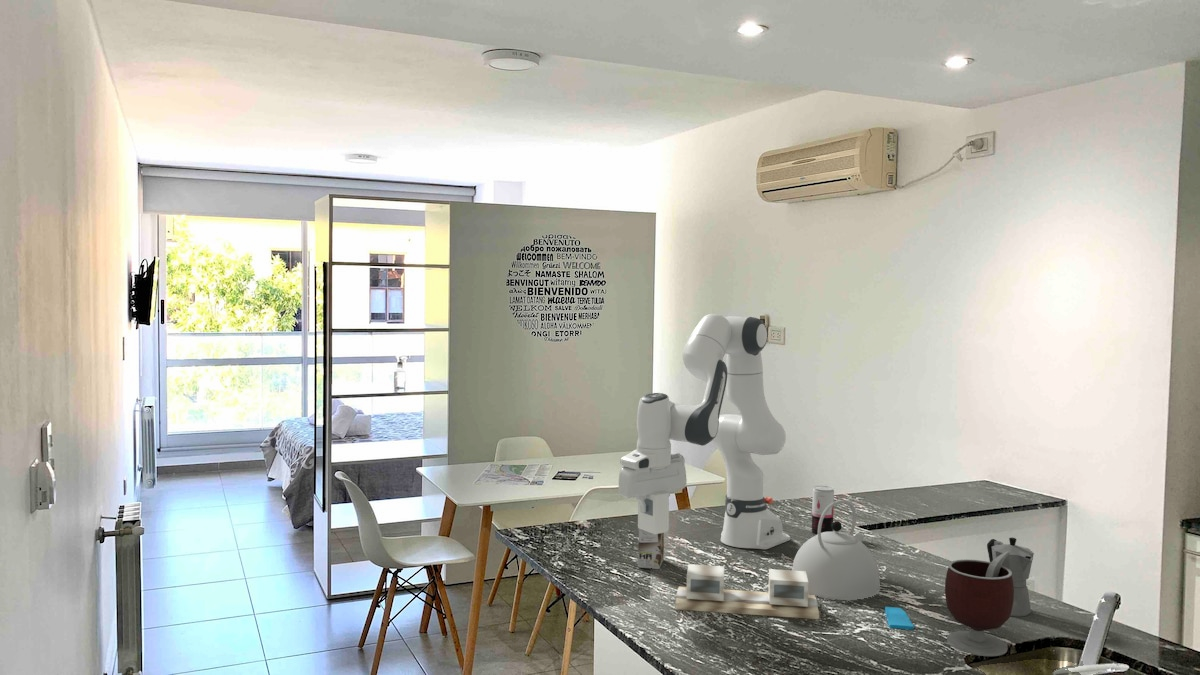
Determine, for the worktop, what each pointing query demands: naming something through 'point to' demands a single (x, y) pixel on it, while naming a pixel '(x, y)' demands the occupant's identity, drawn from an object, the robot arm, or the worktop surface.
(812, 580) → the kettle
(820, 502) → the beverage can
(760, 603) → the rail board
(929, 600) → the worktop surface
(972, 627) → the mate gourd
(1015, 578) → the coffeepot
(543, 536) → the worktop surface
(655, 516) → the block
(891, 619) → the sponge
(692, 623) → the worktop surface
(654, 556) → the coffee box
